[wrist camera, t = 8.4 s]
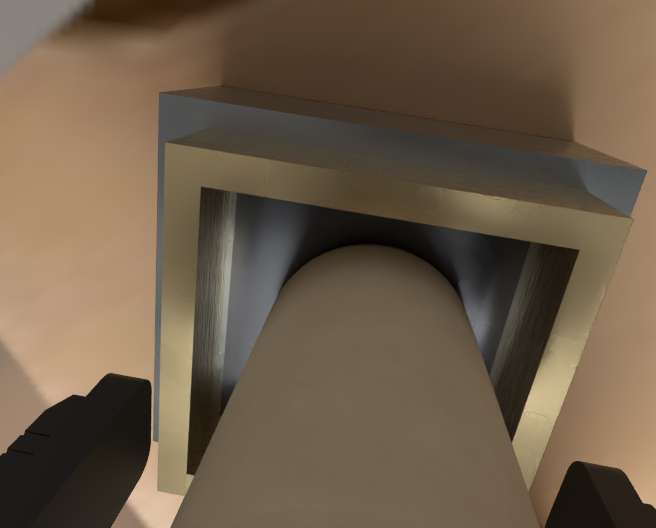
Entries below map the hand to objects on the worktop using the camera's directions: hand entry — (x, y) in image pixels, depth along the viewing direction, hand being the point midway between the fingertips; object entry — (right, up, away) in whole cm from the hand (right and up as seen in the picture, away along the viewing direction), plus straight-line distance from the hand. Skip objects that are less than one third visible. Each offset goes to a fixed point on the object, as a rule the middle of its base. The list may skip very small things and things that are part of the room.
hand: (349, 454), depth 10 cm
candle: (+1, +2, +5) cm, 5 cm away
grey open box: (+1, +4, +9) cm, 10 cm away
